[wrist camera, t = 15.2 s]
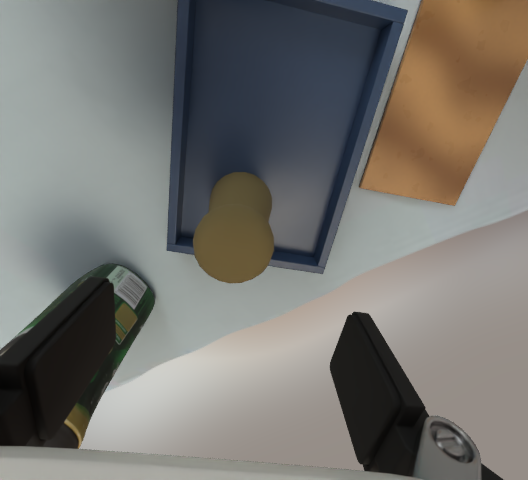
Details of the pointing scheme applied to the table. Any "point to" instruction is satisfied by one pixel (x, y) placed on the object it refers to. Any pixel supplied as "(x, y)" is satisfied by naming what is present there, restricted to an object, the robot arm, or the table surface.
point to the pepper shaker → (236, 229)
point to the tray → (276, 111)
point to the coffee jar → (127, 328)
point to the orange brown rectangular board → (447, 96)
